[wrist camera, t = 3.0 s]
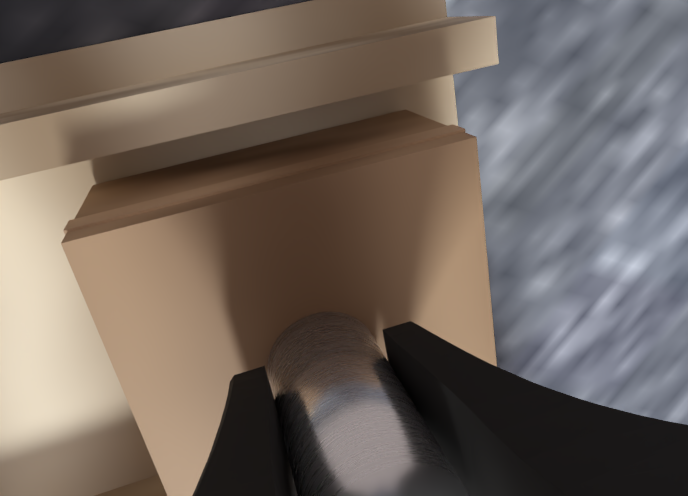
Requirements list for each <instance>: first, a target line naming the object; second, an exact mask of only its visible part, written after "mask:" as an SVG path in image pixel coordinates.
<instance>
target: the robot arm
mask: <svg viewBox="0 0 688 496" xmlns="http://www.w3.org/2000/svg"><path fill="white" fill-rule="evenodd" d="M382 331H383V336H384V342H385V347H386V353H387V358H388V362H389V364H390V365H391V367H392V368H393V370H394V372H395V373H396V375H397V377H398V378H399V380H400V382H401V383H402V385H403V387H404V388H405V390H406V392H407V393H408V395H409V396H410V398H411V400H412V401H413V403H414V405H415V406H416V408H417V410H418V411H419V413H420V415H421V416H422V418H423V419H424V421H425V423H426V424H427V426H428V428H429V429H430V431H431V433H432V434H433V436H434V438H435V439H436V441H437V442H438V444H439V446H440V447H441V449H442V451H443V452H444V454H445V456H446V457H447V459H448V461H449V462H450V464H451V466H452V467H453V469H454V470H455V472H456V474H457V475H458V477H459V479H460V480H461V482H462V484H463V485H464V487H465V489H466V490H467V493H468V495H469V496H688V425H684V424H679V423H673V422H668V421H663V420H658V419H654V418H649V417H644V416H640V415H636V414H632V413H628V412H624V411H620V410H617V409H613V408H609V407H605V406H601V405H598V404H594V403H591V402H588V401H584V400H581V399H578V398H575V397H572V396H569V395H566V394H563V393H560V392H558V391H555V390H552V389H549V388H546V387H543V386H541V385H538V384H536V383H533V382H530V381H528V380H526V379H523V378H521V377H519V376H516V375H514V374H512V373H510V372H507V371H505V370H503V369H500V368H498V367H496V366H494V365H492V364H490V363H488V362H486V361H484V360H482V359H480V358H478V357H476V356H474V355H472V354H470V353H468V352H466V351H464V350H462V349H460V348H458V347H457V346H455V345H453V344H451V343H449V342H447V341H446V340H444V339H442V338H440V337H438V336H437V335H435V334H433V333H431V332H430V331H428V330H426V329H424V328H423V327H421V326H419V325H417V324H415V323H414V322H412V321H409V322H406V323H402V324H399V325H396V326H393V327H389V328H386V329H383V330H382ZM192 496H298V495H297V491H296V487H295V483H294V479H293V475H292V471H291V467H290V463H289V459H288V455H287V450H286V446H285V442H284V437H283V432H282V428H281V424H280V420H279V416H278V412H277V408H276V404H275V400H274V396H273V393H272V389H271V386H270V383H269V379H268V376H267V372H266V369H265V366H262V367H259V368H256V369H253V370H249V371H246V372H243V373H240V374H236V375H234V376H233V378H232V379H231V381H230V384H229V390H228V395H227V400H226V404H225V408H224V411H223V415H222V418H221V422H220V425H219V428H218V431H217V434H216V437H215V440H214V443H213V446H212V449H211V452H210V454H209V457H208V460H207V462H206V464H205V467H204V469H203V472H202V474H201V476H200V479H199V481H198V484H197V486H196V488H195V491H194V493H193V495H192Z"/></svg>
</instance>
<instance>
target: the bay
mask: <svg viewBox="0 0 688 496" xmlns="http://www.w3.org/2000/svg"><path fill="white" fill-rule="evenodd" d="M495 64H499V62H498V48H497V33H496V19H495V16H472V17H447V12H446V2H445V0H311V1H307V2H302V3H297V4H292V5H287V6H282V7H277V8H272V9H267V10H262V11H257V12H252V13H247V14H242V15H238V16H233V17H228V18H223V19H218V20H213V21H208V22H203V23H198V24H193V25H188V26H183V27H178V28H173V29H168V30H164V31H159V32H154V33H149V34H144V35H139V36H134V37H129V38H124V39H119V40H114V41H109V42H104V43H99V44H94V45H90V46H85V47H80V48H75V49H70V50H65V51H60V52H55V53H50V54H45V55H40V56H35V57H30V58H25V59H21V60H16V61H11V62H6V63H1V64H0V496H167V493H166V491H165V489H164V486H163V484H162V482H161V479H160V477H159V474H158V472H157V470H156V467H155V465H154V463H153V460H152V458H151V456H150V453H149V451H148V448H147V446H146V444H145V441H144V439H143V437H142V434H141V432H140V430H139V427H138V425H137V422H136V420H135V418H134V415H133V413H132V411H131V408H130V406H129V404H128V401H127V399H126V396H125V394H124V392H123V389H122V387H121V385H120V382H119V380H118V377H117V375H116V373H115V370H114V368H113V366H112V363H111V361H110V359H109V356H108V354H107V351H106V349H105V347H104V344H103V342H102V340H101V337H100V335H99V333H98V330H97V328H96V325H95V323H94V321H93V318H92V316H91V314H90V311H89V309H88V307H87V304H86V302H85V299H84V297H83V295H82V292H81V290H80V288H79V285H78V283H77V281H76V278H75V276H74V273H73V271H72V269H71V266H70V264H69V262H68V259H67V257H66V254H65V252H64V250H63V247H62V245H61V242H62V240H63V239H64V237H65V234H64V231H63V230H64V228H65V226H66V225H67V223H68V221H69V220H72V219H75V217H76V215H77V213H78V211H79V209H80V208H81V206H82V204H83V202H84V200H85V198H86V197H87V195H88V193H89V191H90V189H91V187H92V186H93V185H96V184H100V183H104V182H108V181H112V180H116V179H120V178H124V177H129V176H133V175H137V174H141V173H145V172H149V171H153V170H158V169H162V168H166V167H170V166H174V165H178V164H182V163H186V162H191V161H195V160H199V159H203V158H207V157H211V156H215V155H220V154H224V153H228V152H232V151H236V150H240V149H244V148H248V147H253V146H257V145H261V144H265V143H269V142H273V141H277V140H281V139H286V138H290V137H294V136H298V135H302V134H306V133H310V132H315V131H319V130H323V129H327V128H331V127H335V126H339V125H343V124H348V123H352V122H356V121H360V120H364V119H368V118H372V117H376V116H381V115H385V114H389V113H393V112H397V111H401V110H405V109H406V110H408V111H411V112H413V113H416V114H419V115H421V116H424V117H426V118H429V119H431V120H434V121H436V122H439V123H442V124H444V125H447V126H448V125H452V124H453V125H456V126H458V120H457V110H456V100H455V91H454V81H453V74H457V73H461V72H465V71H470V70H474V69H478V68H482V67H487V66H491V65H495Z"/></svg>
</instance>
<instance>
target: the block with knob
mask: <svg viewBox="0 0 688 496" xmlns="http://www.w3.org/2000/svg"><path fill="white" fill-rule="evenodd" d="M63 231H64V234H65V237H64V239H63V240H62V242H61V245H62V247H63V250H64V252H65V254H66V257H67V259H68V262H69V264H70V266H71V269H72V271H73V273H74V276H75V278H76V281H77V283H78V285H79V288H80V290H81V292H82V295H83V297H84V299H85V302H86V304H87V307H88V309H89V311H90V314H91V316H92V318H93V321H94V323H95V325H96V328H97V330H98V333H99V335H100V337H101V340H102V342H103V344H104V347H105V349H106V351H107V354H108V356H109V359H110V361H111V363H112V366H113V368H114V370H115V373H116V375H117V377H118V380H119V382H120V385H121V387H122V389H123V392H124V394H125V396H126V399H127V401H128V404H129V406H130V408H131V411H132V413H133V415H134V418H135V420H136V422H137V425H138V427H139V430H140V432H141V434H142V437H143V439H144V441H145V444H146V446H147V448H148V451H149V453H150V456H151V458H152V460H153V463H154V465H155V467H156V470H157V472H158V474H159V477H160V479H161V482H162V484H163V486H164V489H165V491H166V493H167V496H192V495H193V493H194V491H195V488H196V486H197V484H198V481H199V479H200V476H201V474H202V472H203V469H204V467H205V464H206V462H207V460H208V457H209V454H210V452H211V449H212V446H213V443H214V440H215V437H216V434H217V431H218V428H219V425H220V422H221V418H222V415H223V411H224V408H225V404H226V400H227V395H228V390H229V384H230V381H231V379H232V378H233V376H234V375H236V374H240V373H243V372H246V371H249V370H253V369H256V368H259V367H262V366H265V369H266V372H267V376H268V379H269V383H270V386H271V389H272V393H273V396H274V400H275V404H276V408H277V412H278V416H279V420H280V424H281V428H282V432H283V437H284V442H285V446H286V450H287V455H288V459H289V463H290V467H291V471H292V475H293V479H294V483H295V487H296V491H297V495H298V496H469V495H468V493H467V490H466V489H465V487H464V485H463V484H462V482H461V480H460V479H459V477H458V475H457V474H456V472H455V470H454V469H453V467H452V466H451V464H450V462H449V461H448V459H447V457H446V456H445V454H444V452H443V451H442V449H441V447H440V446H439V444H438V442H437V441H436V439H435V438H434V436H433V434H432V433H431V431H430V429H429V428H428V426H427V424H426V423H425V421H424V419H423V418H422V416H421V415H420V413H419V411H418V410H417V408H416V406H415V405H414V403H413V401H412V400H411V398H410V396H409V395H408V393H407V392H406V390H405V388H404V387H403V385H402V383H401V382H400V380H399V378H398V377H397V375H396V373H395V372H394V370H393V368H392V367H391V365H390V364H389V362H388V358H387V353H386V347H385V342H384V336H383V331H382V330H383V329H386V328H389V327H393V326H396V325H399V324H402V323H406V322H409V321H412V322H414V323H415V324H417V325H419V326H421V327H423V328H424V329H426V330H428V331H430V332H431V333H433V334H435V335H437V336H438V337H440V338H442V339H444V340H446V341H447V342H449V343H451V344H453V345H455V346H457V347H458V348H460V349H462V350H464V351H466V352H468V353H470V354H472V355H474V356H476V357H478V358H480V359H482V360H484V361H486V362H488V363H490V364H492V365H494V366H496V367H497V362H496V351H495V340H494V329H493V318H492V307H491V295H490V284H489V273H488V262H487V251H486V239H485V228H484V217H483V206H482V195H481V184H480V172H479V161H478V150H477V139H476V137H475V136H472V135H470V134H467V133H465V129H464V128H461V127H459V126H456V125H453V124H452V125H448V126H447V125H444V124H442V123H439V122H436V121H434V120H431V119H429V118H426V117H424V116H421V115H419V114H416V113H413V112H411V111H408V110H406V109H405V110H401V111H397V112H393V113H389V114H385V115H381V116H376V117H372V118H368V119H364V120H360V121H356V122H352V123H348V124H343V125H339V126H335V127H331V128H327V129H323V130H319V131H315V132H310V133H306V134H302V135H298V136H294V137H290V138H286V139H281V140H277V141H273V142H269V143H265V144H261V145H257V146H253V147H248V148H244V149H240V150H236V151H232V152H228V153H224V154H220V155H215V156H211V157H207V158H203V159H199V160H195V161H191V162H186V163H182V164H178V165H174V166H170V167H166V168H162V169H158V170H153V171H149V172H145V173H141V174H137V175H133V176H129V177H124V178H120V179H116V180H112V181H108V182H104V183H100V184H96V185H93V186H92V187H91V189H90V191H89V193H88V195H87V197H86V198H85V200H84V202H83V204H82V206H81V208H80V209H79V211H78V213H77V215H76V217H75V219H72V220H69V221H68V223H67V225H66V226H65V228H64V230H63Z"/></svg>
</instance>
